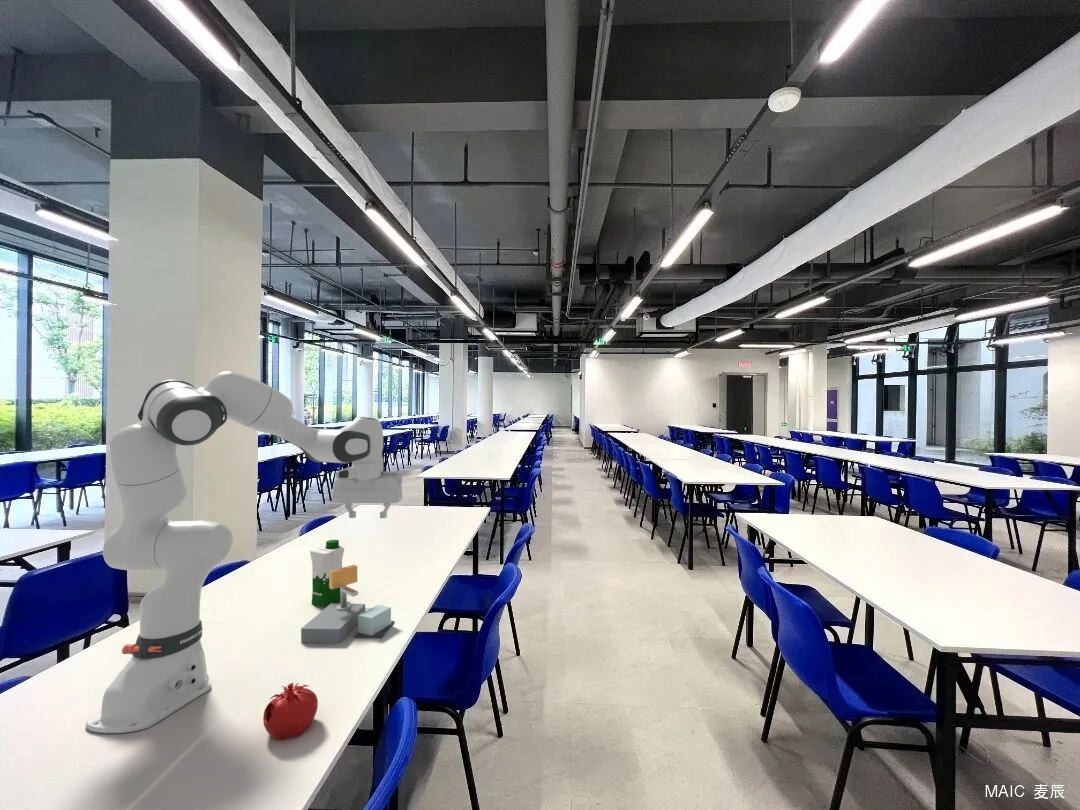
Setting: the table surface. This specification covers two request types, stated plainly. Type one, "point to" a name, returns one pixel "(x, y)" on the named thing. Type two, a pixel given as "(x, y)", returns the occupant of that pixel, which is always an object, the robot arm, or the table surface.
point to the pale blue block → (374, 620)
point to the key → (343, 582)
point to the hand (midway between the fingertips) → (367, 517)
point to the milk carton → (325, 573)
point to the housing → (332, 624)
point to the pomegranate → (290, 712)
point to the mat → (376, 635)
